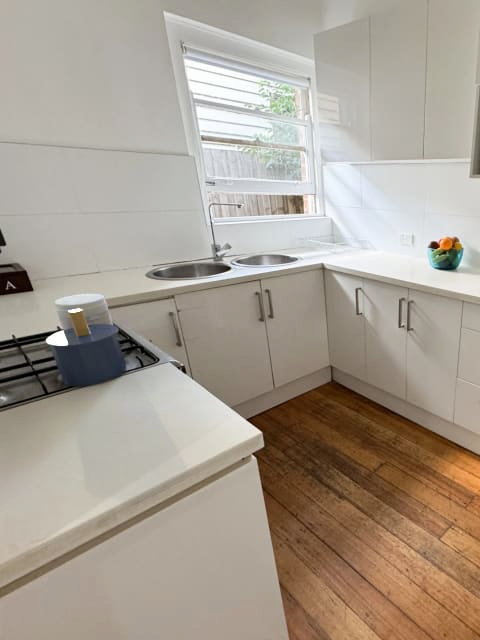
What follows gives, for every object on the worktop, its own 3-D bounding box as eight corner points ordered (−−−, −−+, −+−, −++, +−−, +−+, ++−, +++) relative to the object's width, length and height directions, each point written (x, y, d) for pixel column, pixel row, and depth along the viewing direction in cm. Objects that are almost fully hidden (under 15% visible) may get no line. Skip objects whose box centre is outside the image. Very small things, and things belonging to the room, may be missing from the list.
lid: (46, 355, 76) (34, 325, 74) (48, 336, 85) (37, 308, 82) (122, 340, 84) (113, 312, 81) (116, 324, 92) (108, 298, 90)
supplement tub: (72, 352, 98) (52, 297, 92) (117, 342, 104) (101, 290, 98) (75, 365, 91) (54, 307, 85) (123, 354, 97) (106, 299, 91)
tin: (64, 392, 81) (48, 351, 77) (63, 371, 88) (49, 334, 85) (129, 376, 87) (117, 338, 84) (123, 358, 95) (112, 323, 91)
